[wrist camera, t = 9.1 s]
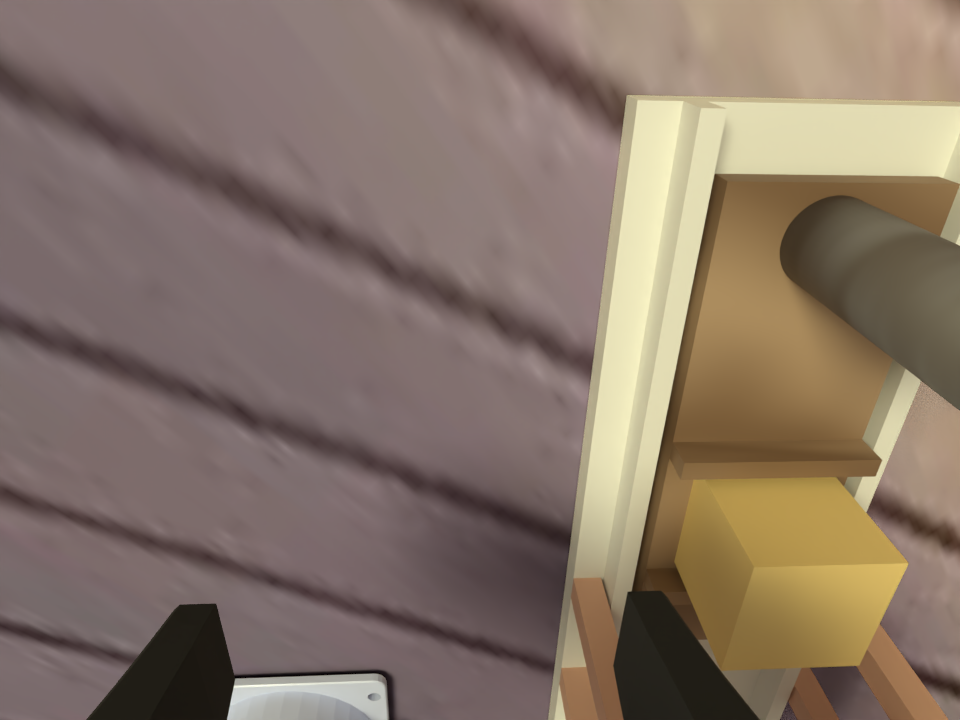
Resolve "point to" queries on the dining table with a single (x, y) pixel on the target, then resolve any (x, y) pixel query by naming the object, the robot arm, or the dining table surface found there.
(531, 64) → the dining table surface
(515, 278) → the dining table surface
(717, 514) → the block
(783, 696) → the track
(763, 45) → the dining table surface
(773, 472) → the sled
